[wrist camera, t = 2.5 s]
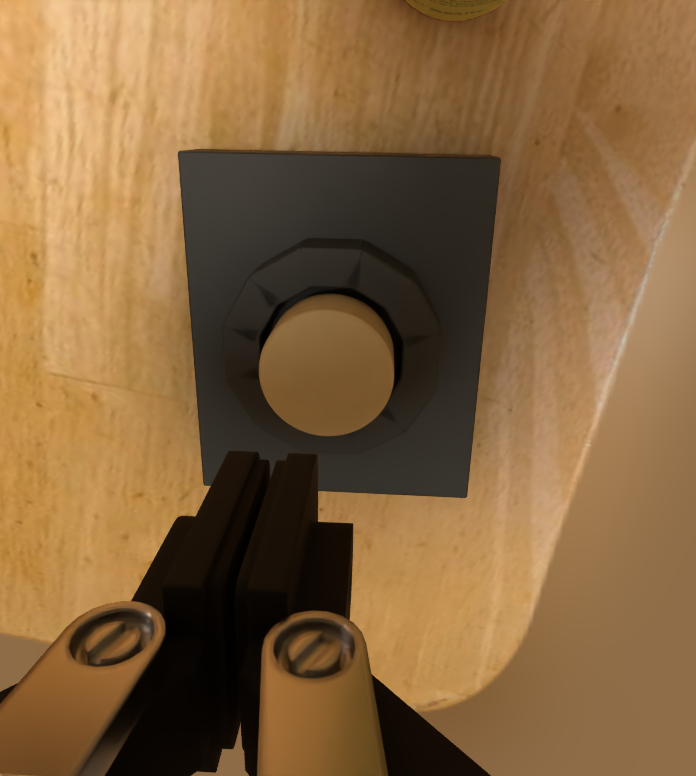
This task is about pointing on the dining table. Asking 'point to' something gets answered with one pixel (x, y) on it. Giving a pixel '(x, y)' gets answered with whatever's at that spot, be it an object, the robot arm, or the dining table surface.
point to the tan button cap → (328, 365)
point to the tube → (455, 8)
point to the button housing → (347, 277)
